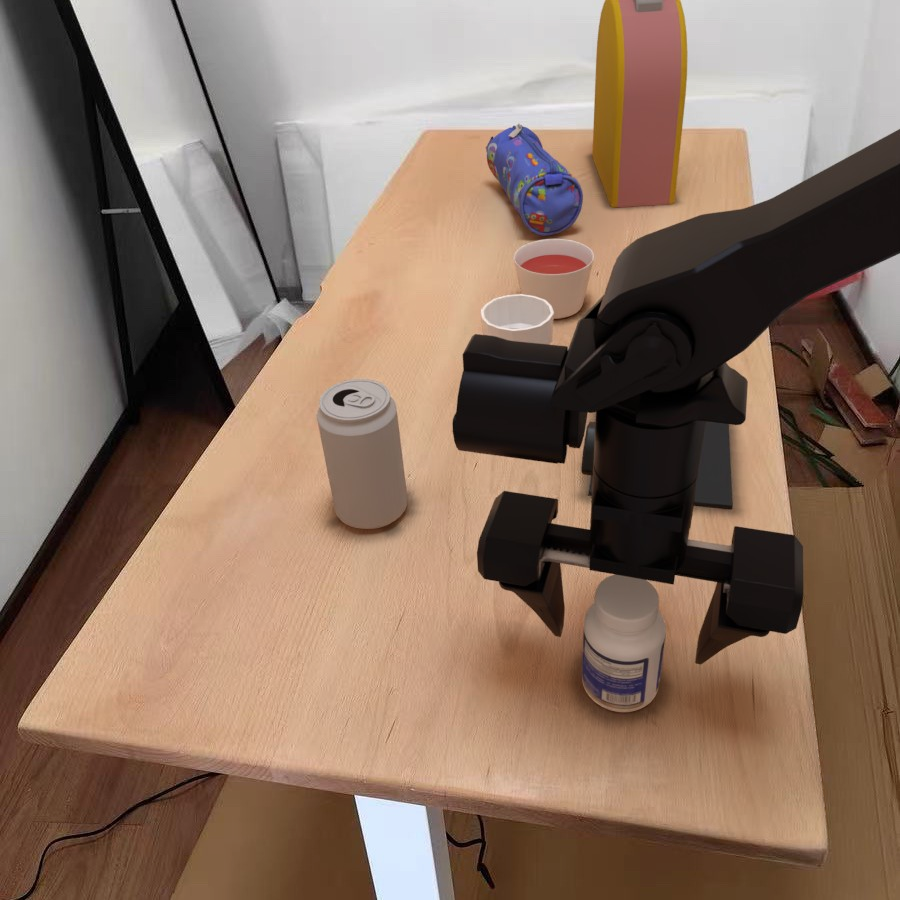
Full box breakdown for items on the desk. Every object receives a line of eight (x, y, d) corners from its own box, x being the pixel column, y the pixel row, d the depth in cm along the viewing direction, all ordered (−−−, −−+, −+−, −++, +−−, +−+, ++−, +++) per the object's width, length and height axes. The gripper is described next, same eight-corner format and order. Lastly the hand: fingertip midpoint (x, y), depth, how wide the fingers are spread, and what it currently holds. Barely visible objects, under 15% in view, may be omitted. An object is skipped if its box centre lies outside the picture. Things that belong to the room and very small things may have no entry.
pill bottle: (612, 639, 63) (619, 553, 57) (673, 680, 60) (687, 593, 54) (565, 684, 60) (567, 597, 55) (627, 729, 57) (636, 642, 51)
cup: (478, 396, 88) (473, 300, 81) (541, 385, 89) (541, 289, 82) (495, 434, 83) (490, 335, 76) (561, 422, 84) (563, 323, 77)
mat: (606, 369, 90) (606, 366, 90) (725, 377, 88) (726, 374, 88) (588, 495, 75) (588, 491, 75) (732, 509, 73) (732, 505, 72)
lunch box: (675, 203, 122) (697, -3, 105) (610, 207, 122) (622, 2, 106) (648, 151, 138) (663, -35, 122) (591, 155, 139) (599, -30, 122)
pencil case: (485, 184, 132) (483, 120, 126) (540, 177, 133) (540, 113, 127) (522, 244, 115) (521, 174, 109) (585, 235, 116) (587, 165, 110)
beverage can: (360, 478, 79) (341, 368, 71) (421, 496, 76) (409, 384, 69) (321, 523, 75) (297, 410, 67) (385, 543, 72) (368, 429, 65)
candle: (579, 283, 105) (581, 234, 101) (601, 319, 98) (604, 268, 94) (507, 292, 105) (506, 244, 101) (524, 329, 98) (523, 279, 94)
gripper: (821, 402, 51) (776, 582, 61) (516, 367, 56) (519, 539, 66) (826, 529, 43) (774, 713, 53) (468, 475, 48) (480, 653, 58)
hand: (627, 644), depth 58 cm, fingers open, 9 cm apart
